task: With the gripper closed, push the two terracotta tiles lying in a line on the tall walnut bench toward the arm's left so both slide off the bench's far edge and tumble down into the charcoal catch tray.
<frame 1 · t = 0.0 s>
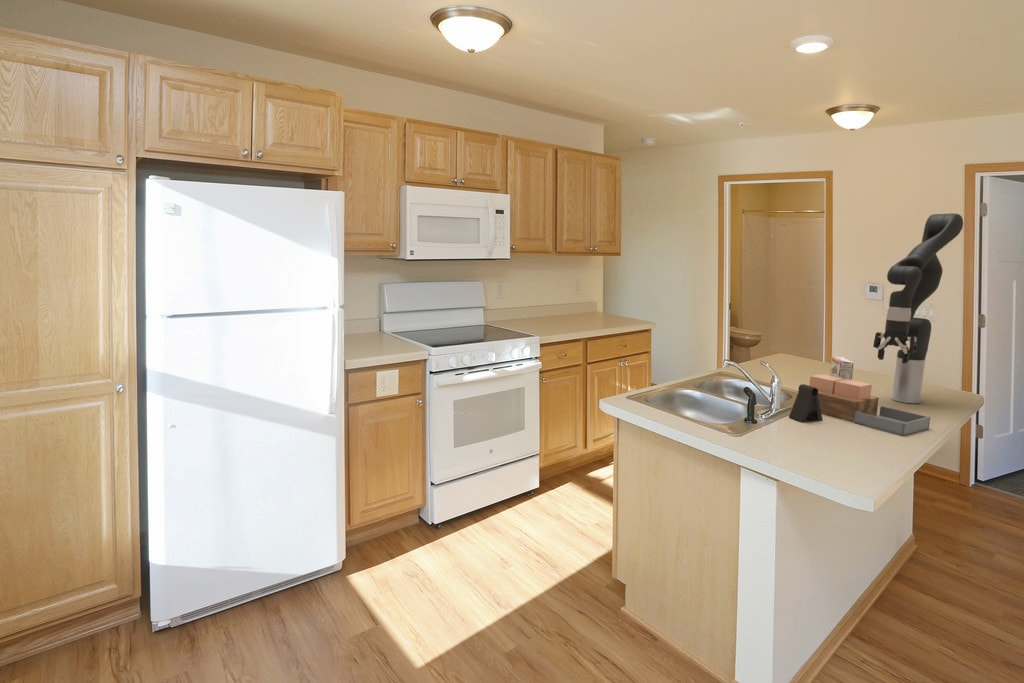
hand: (892, 361, 221), 17 cm above the worktop, tool pointing down, fingers open, 8 cm apart
candy bar box: (838, 399, 232), on the worktop
tray: (889, 425, 198), on the worktop
tile front: (851, 396, 208), point 7 cm above the worktop, touching board
tile rear: (826, 390, 217), point 7 cm above the worktop, touching board
board: (837, 412, 213), on the worktop
phone stand: (805, 419, 204), on the worktop
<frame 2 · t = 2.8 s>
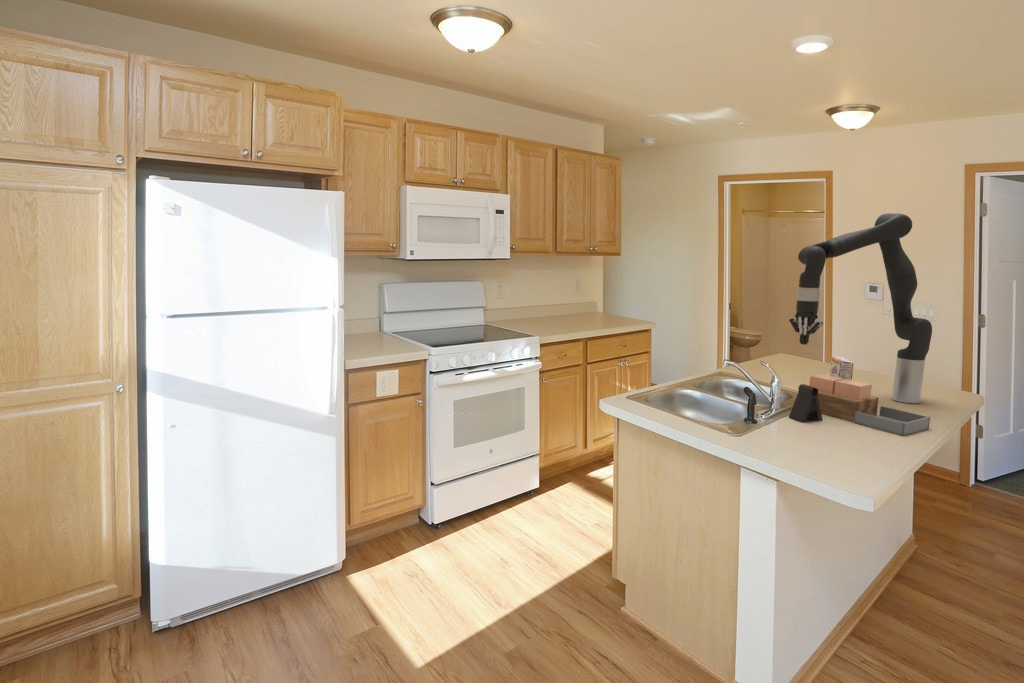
hand: (803, 344, 223), 23 cm above the worktop, tool pointing down, fingers closed
nothing on the worktop moved.
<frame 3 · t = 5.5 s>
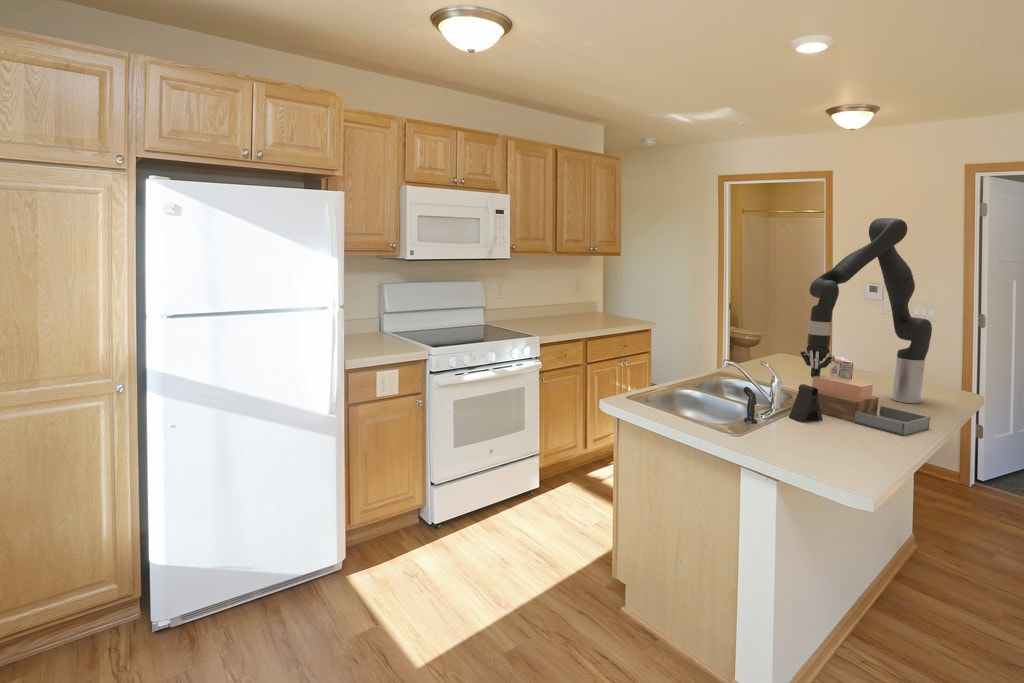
hand: (814, 377, 220), 11 cm above the worktop, tool pointing down, fingers closed
tile front: (852, 396, 208), point 7 cm above the worktop, touching board, tile rear
tile rear: (828, 391, 216), point 7 cm above the worktop, touching gripper, tile front
everything else where it was.
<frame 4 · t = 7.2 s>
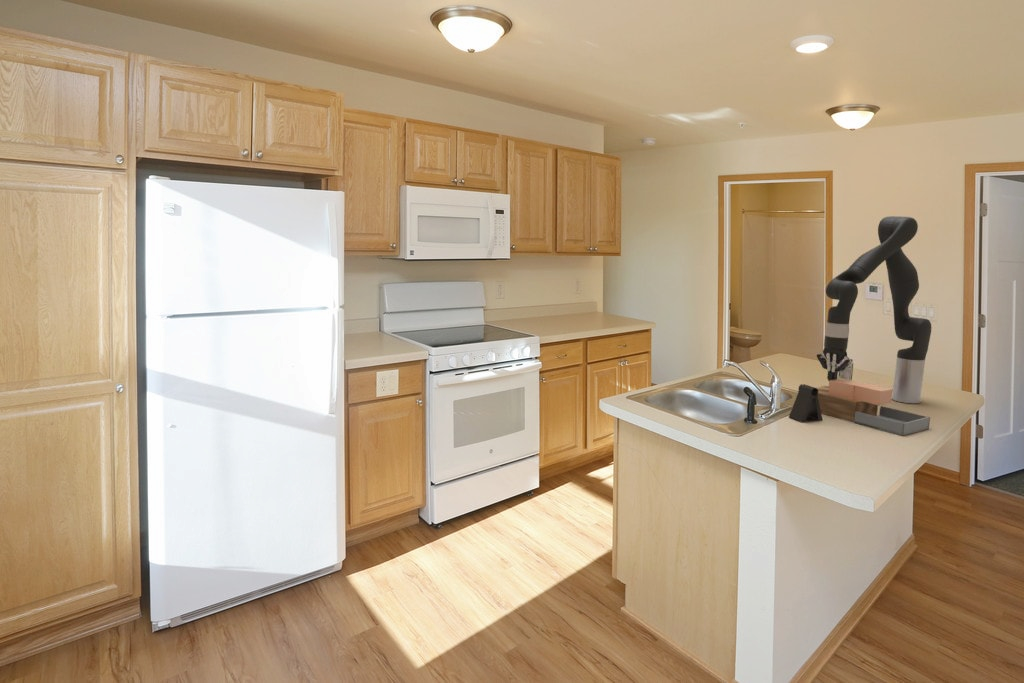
hand: (831, 381, 214), 11 cm above the worktop, tool pointing down, fingers closed
tile front: (871, 401, 202), point 7 cm above the worktop, touching board, tile rear
tile rear: (846, 395, 210), point 7 cm above the worktop, touching board, gripper, tile front
everything else where it was.
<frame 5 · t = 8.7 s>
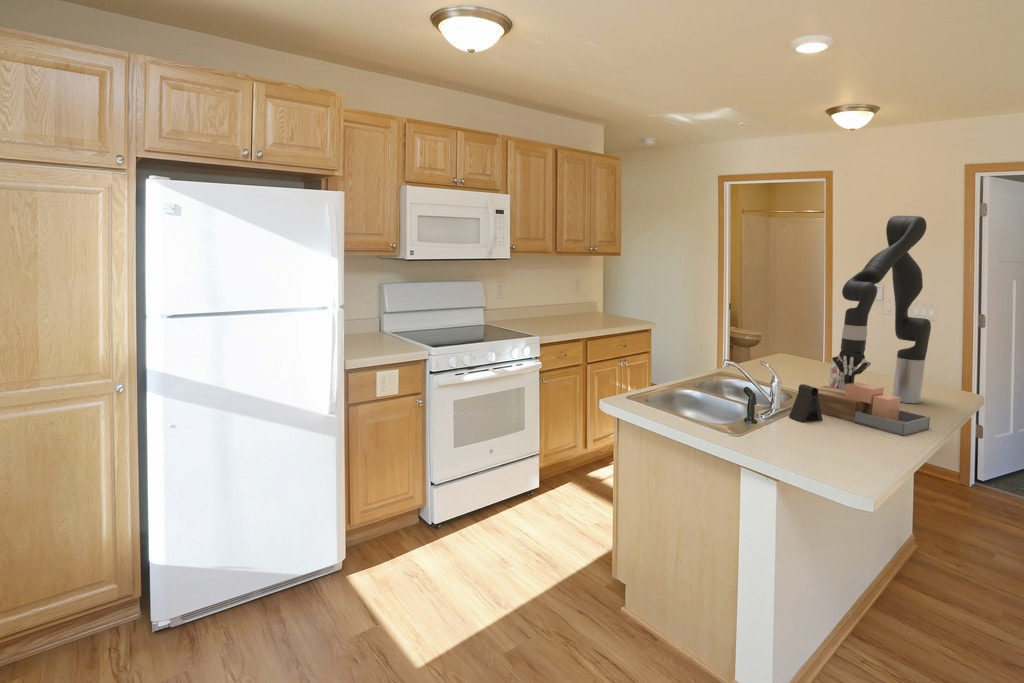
hand: (848, 384, 209), 11 cm above the worktop, tool pointing down, fingers closed
tile front: (878, 407, 200), point 5 cm above the worktop, tilted 90°, touching tray
tile rear: (863, 399, 204), point 7 cm above the worktop, touching board, gripper
everything else where it was.
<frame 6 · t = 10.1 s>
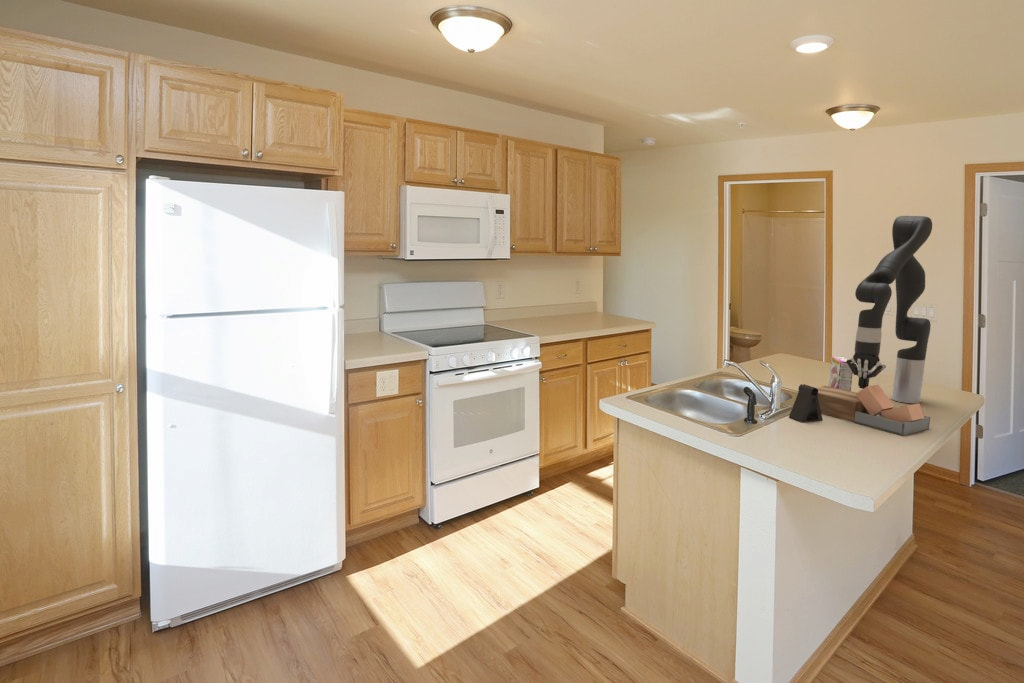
hand: (862, 388, 205), 11 cm above the worktop, tool pointing down, fingers closed
tile front: (899, 407, 194), point 7 cm above the worktop, tilted 154°, touching tile rear, tray
tile rear: (869, 403, 203), point 6 cm above the worktop, tilted 46°, touching board, tile front
everything else where it was.
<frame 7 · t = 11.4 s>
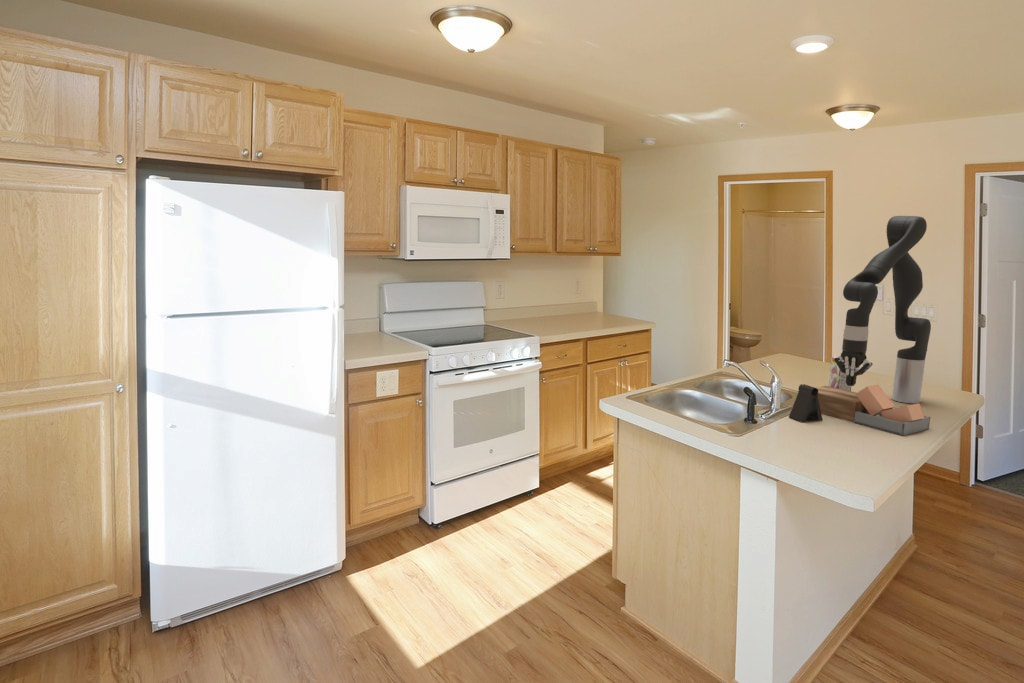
hand: (850, 385, 209), 11 cm above the worktop, tool pointing down, fingers closed
nothing on the worktop moved.
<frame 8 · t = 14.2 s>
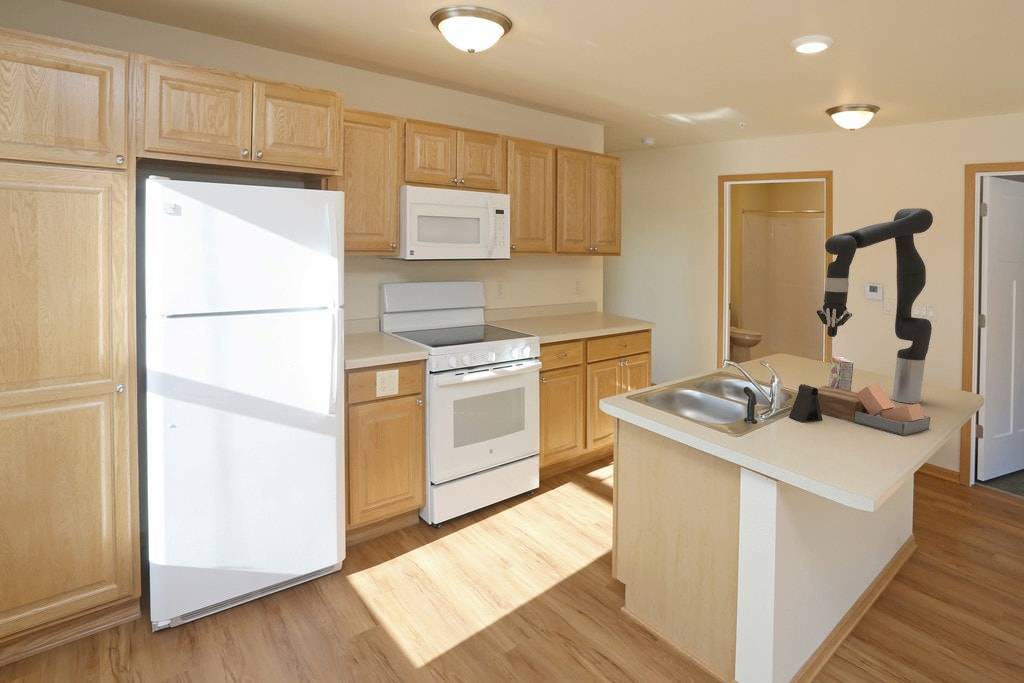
hand: (831, 336, 216), 27 cm above the worktop, tool pointing down, fingers closed
nothing on the worktop moved.
at the end: tile front inside the target area (1.8 cm from its centre), point 7.1 cm above the worktop; tile rear inside the target area (7.9 cm from its centre), point 5.9 cm above the worktop; tile rear point 5.9 cm above the worktop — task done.
